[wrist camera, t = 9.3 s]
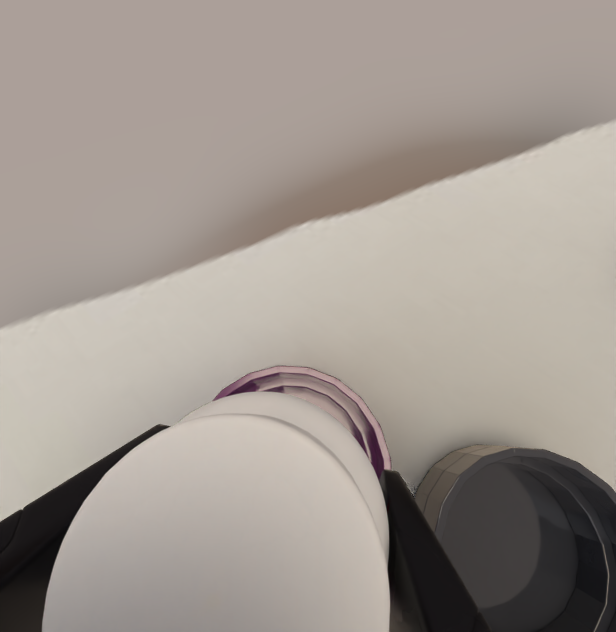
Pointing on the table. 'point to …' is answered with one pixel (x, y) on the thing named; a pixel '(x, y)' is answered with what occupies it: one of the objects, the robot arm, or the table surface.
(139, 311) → the table surface
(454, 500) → the charcoal bowl
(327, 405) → the plum bowl
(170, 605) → the pill bottle
